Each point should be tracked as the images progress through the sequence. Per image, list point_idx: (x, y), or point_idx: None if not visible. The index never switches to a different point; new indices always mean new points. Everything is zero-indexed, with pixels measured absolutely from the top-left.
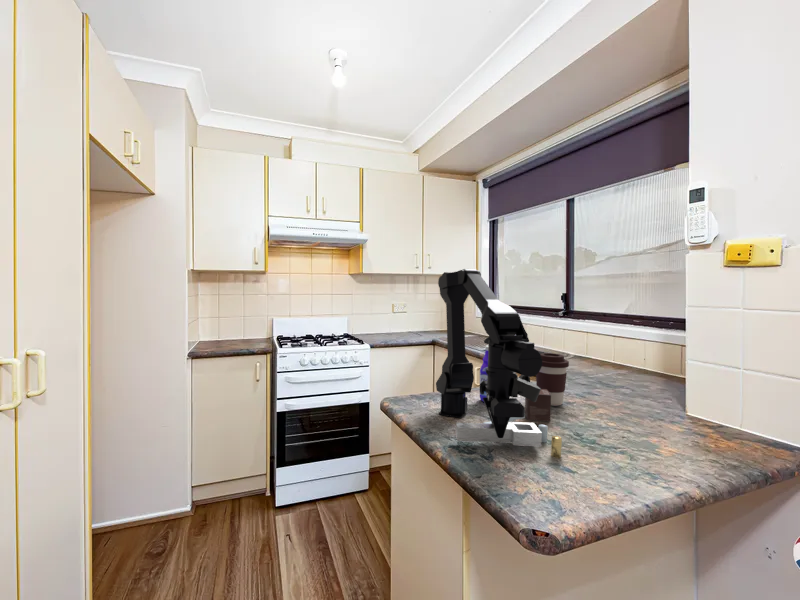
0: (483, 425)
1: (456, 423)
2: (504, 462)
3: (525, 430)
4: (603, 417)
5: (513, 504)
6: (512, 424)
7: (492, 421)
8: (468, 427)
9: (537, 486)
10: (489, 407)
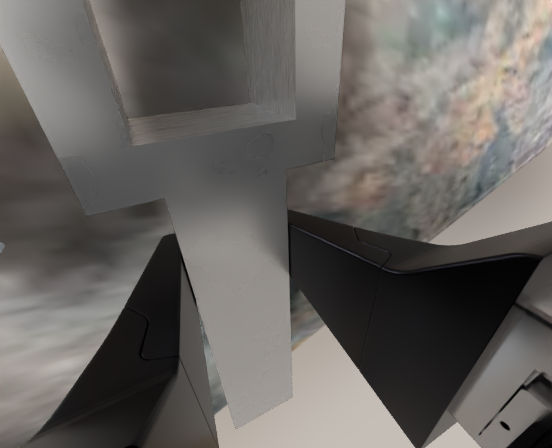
0: (248, 338)
1: (244, 423)
2: (357, 171)
3: (300, 36)
4: None
5: (512, 154)
6: (160, 162)
7: (199, 324)
8: (289, 372)
9: (492, 74)
10: (425, 444)
